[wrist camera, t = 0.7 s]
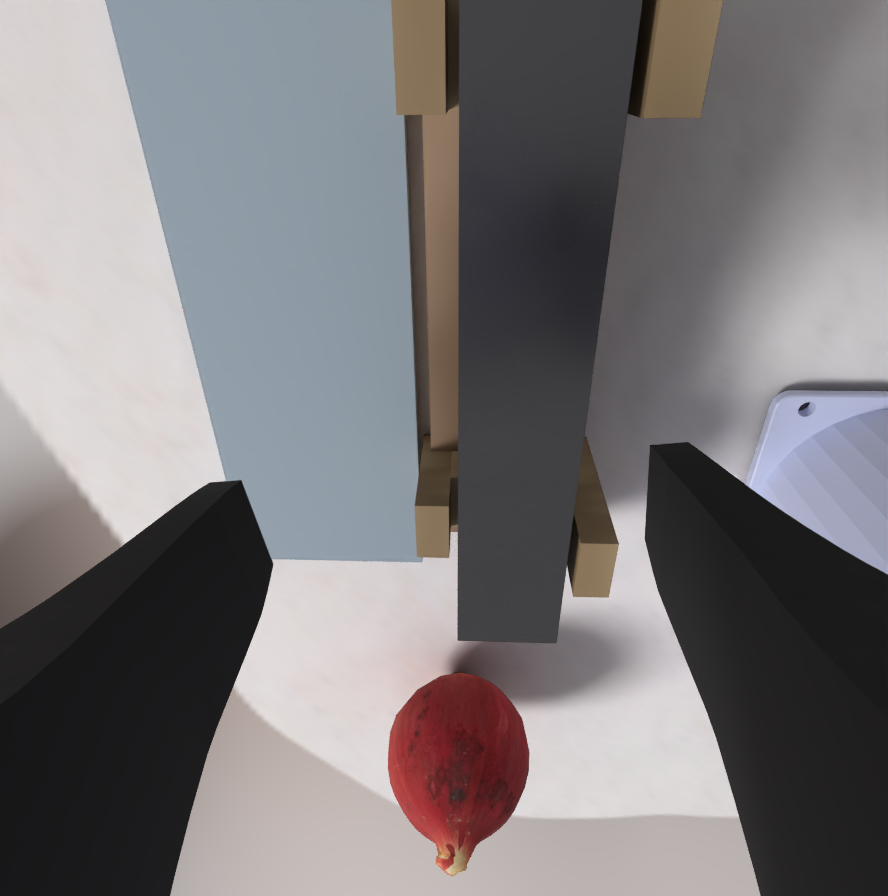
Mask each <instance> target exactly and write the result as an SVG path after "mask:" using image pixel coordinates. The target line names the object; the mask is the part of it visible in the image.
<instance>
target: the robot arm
mask: <svg viewBox="0 0 888 896" xmlns="http://www.w3.org/2000/svg"><path fill="white" fill-rule="evenodd" d="M807 402H810V404H809V405H808V407H807V408H805V409H804V410H801V411H798V409H799V408H800V406H801V405H803V404H804V403H807ZM645 542H646V546H647V550H648V554H649V558H650V562H651V566H652V570H653V573H654V577H655V581H656V584H657V588H658V591H659V594H660V597H661V599H662V602H663V604H664V607H665V609H666V612H667V614H668V617H669V619H670V622H671V624H672V627H673V629H674V632H675V634H676V637H677V639H678V642H679V644H680V647H681V649H682V651H683V654H684V656H685V659H686V661H687V664H688V666H689V669H690V671H691V674H692V676H693V679H694V681H695V683H696V686H697V688H698V691H699V693H700V696H701V698H702V701H703V703H704V706H705V708H706V711H707V713H708V716H709V719H710V722H711V725H712V727H713V730H714V733H715V736H716V739H717V742H718V745H719V749H720V752H721V756H722V759H723V762H724V766H725V769H726V773H727V776H728V779H729V783H730V786H731V790H732V793H733V796H734V800H735V803H736V807H737V810H738V814H739V818H740V821H741V825H742V828H743V832H744V835H745V839H746V843H747V846H748V850H749V854H750V857H751V861H752V864H753V868H754V872H755V875H756V879H757V883H758V887H759V891H760V895H761V896H888V391H808V390H790V391H784V392H782V393H780V394H778V395H777V396H776V397H775V398H773V400H772V402H771V404H770V406H769V410H768V413H767V416H766V419H765V422H764V425H763V428H762V432H761V435H760V438H759V441H758V444H757V447H756V451H755V454H754V457H753V460H752V463H751V466H750V469H749V473H748V476H747V479H746V482H745V484H744V483H743V482H741V481H740V480H739V479H737V478H736V477H734V476H733V475H732V474H730V473H729V472H728V471H726V470H725V469H724V468H722V467H721V466H720V465H718V464H717V463H716V462H714V461H713V460H712V459H710V458H709V457H708V456H706V455H705V454H704V453H702V452H701V451H700V450H698V449H697V448H696V447H694V446H693V445H691V444H690V443H688V442H683V443H672V444H660V445H650V456H649V474H648V491H647V509H646V527H645ZM272 568H273V562H272V559H271V557H270V554H269V551H268V549H267V546H266V543H265V541H264V538H263V536H262V533H261V530H260V528H259V525H258V522H257V520H256V517H255V515H254V512H253V509H252V507H251V504H250V501H249V499H248V496H247V493H246V491H245V488H244V486H243V483H242V480H236V481H224V482H212V483H208V484H207V485H205V486H204V487H202V488H200V489H199V490H197V491H196V492H194V493H193V494H191V495H190V496H189V497H187V498H186V499H184V500H183V501H182V502H180V503H179V504H178V505H176V506H175V507H174V508H172V509H171V510H170V511H168V512H167V513H166V514H164V515H163V516H162V517H160V518H159V519H158V520H156V521H155V522H154V523H152V524H151V525H150V526H148V527H147V528H146V529H144V530H143V531H142V532H140V533H139V534H138V535H136V536H135V537H134V538H132V539H131V540H130V541H128V542H127V543H126V544H124V545H123V546H122V547H121V548H119V549H118V550H117V551H115V552H114V553H113V554H111V555H110V556H108V557H107V558H106V559H104V560H103V561H101V562H100V563H98V564H97V565H96V566H94V567H93V568H92V569H90V570H89V571H87V572H86V573H84V574H83V575H82V576H80V577H79V578H77V579H76V580H74V581H73V582H72V583H70V584H69V585H67V586H66V587H64V588H63V589H62V590H60V591H59V592H57V593H56V594H54V595H53V596H52V597H50V598H49V599H47V600H45V601H44V602H42V603H41V604H39V605H38V606H36V607H35V608H33V609H32V610H30V611H28V612H27V613H25V614H24V615H22V616H20V617H19V618H17V619H16V620H14V621H12V622H11V623H9V624H7V625H6V626H4V627H2V628H1V629H0V896H170V893H171V889H172V884H173V880H174V876H175V872H176V868H177V864H178V860H179V856H180V852H181V848H182V845H183V841H184V837H185V833H186V829H187V825H188V821H189V817H190V813H191V810H192V806H193V803H194V799H195V796H196V792H197V789H198V785H199V782H200V778H201V775H202V771H203V768H204V764H205V761H206V757H207V754H208V751H209V748H210V745H211V743H212V740H213V737H214V734H215V731H216V728H217V726H218V723H219V721H220V718H221V716H222V713H223V710H224V708H225V706H226V703H227V701H228V698H229V696H230V693H231V691H232V688H233V686H234V683H235V681H236V678H237V676H238V673H239V671H240V668H241V666H242V663H243V661H244V658H245V656H246V653H247V651H248V648H249V645H250V643H251V640H252V638H253V635H254V633H255V630H256V627H257V625H258V622H259V619H260V617H261V614H262V610H263V606H264V602H265V599H266V595H267V591H268V586H269V582H270V577H271V573H272Z"/></svg>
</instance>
